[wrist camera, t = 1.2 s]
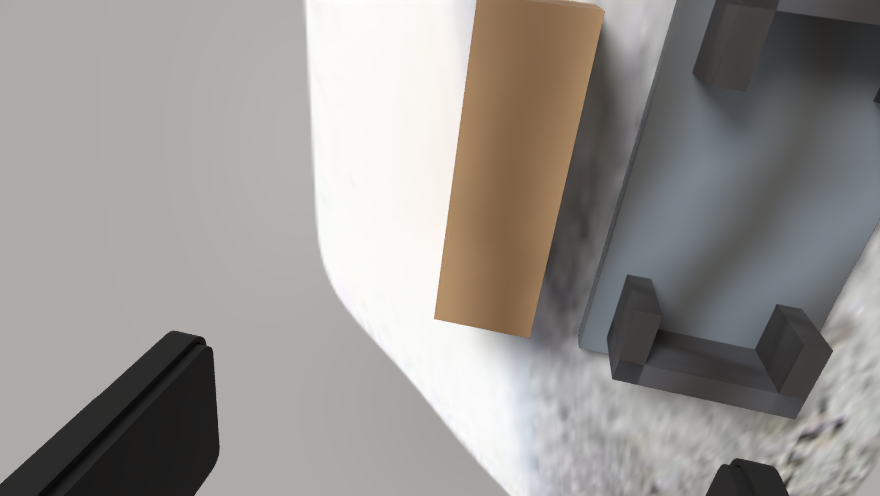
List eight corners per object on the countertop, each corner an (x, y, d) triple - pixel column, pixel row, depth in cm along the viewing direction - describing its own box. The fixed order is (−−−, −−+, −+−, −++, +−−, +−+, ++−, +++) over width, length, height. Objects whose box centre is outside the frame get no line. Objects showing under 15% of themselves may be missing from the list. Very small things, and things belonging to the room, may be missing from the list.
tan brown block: (454, 261, 32) (434, 319, 26) (494, -10, 25) (477, -7, 20) (533, 276, 31) (529, 338, 26) (594, 3, 25) (604, 10, 19)
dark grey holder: (578, 335, 32) (581, 389, 28) (695, -63, 23) (725, -72, 19) (779, 378, 31) (814, 441, 27) (985, -24, 22) (1087, -25, 18)
